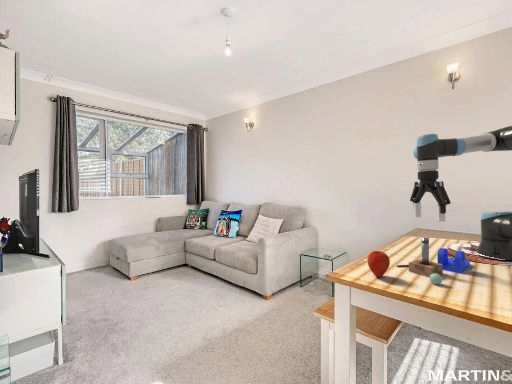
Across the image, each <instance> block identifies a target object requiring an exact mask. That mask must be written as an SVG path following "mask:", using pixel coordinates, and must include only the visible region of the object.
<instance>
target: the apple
mask: <svg viewBox="0 0 512 384" xmlns="http://www.w3.org/2000/svg"><path fill="white" fill-rule="evenodd" d="M390 261H391V260H390V256H388V254H387V253H385V252H384V251H381V250H373V251H372V252H370V253H369V254H368V257H367V266H368V269H369V270H370V271H371V273H372V274H373V275H374V276H375V277H376V278H381V277H383V275H385V273H386V272H387V271H388V269H389V268H390V265H391V264H390V263H391V262H390Z"/></svg>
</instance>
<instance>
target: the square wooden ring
mask: <svg viewBox="0 0 512 384" xmlns="http://www.w3.org/2000/svg"><path fill="white" fill-rule="evenodd" d="M408 265H409V266H408V272H409V273H413V274H416V275H419V276H423V277H427V278H430V275H431V274H434V273H436V274H439V275H440V276H441V275H442V274H444V273H443V272H444V270H443V264H439V263H438V262H434V261H431V260H429V265H424V264H422V258H421V259H420V258H419V259H417V260H413V261H409V262H408Z"/></svg>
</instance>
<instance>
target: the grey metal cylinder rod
mask: <svg viewBox="0 0 512 384" xmlns="http://www.w3.org/2000/svg"><path fill="white" fill-rule="evenodd" d="M420 241H421V259H422V264H424V265H429V261H430V238H429V237H421V240H420Z"/></svg>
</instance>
